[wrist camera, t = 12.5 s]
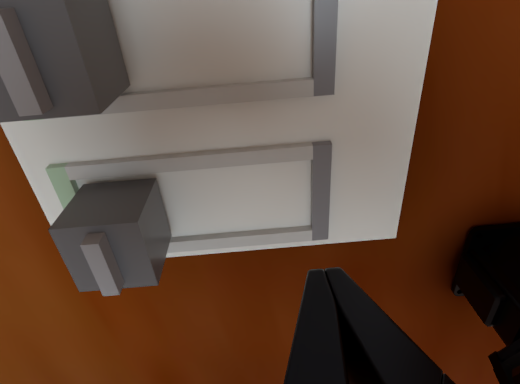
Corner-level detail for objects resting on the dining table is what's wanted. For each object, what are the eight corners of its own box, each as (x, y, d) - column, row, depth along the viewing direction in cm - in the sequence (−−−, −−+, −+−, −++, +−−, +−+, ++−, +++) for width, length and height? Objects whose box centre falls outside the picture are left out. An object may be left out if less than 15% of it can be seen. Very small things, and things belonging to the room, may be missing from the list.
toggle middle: (103, -15, 14) (47, -11, 10) (130, 85, 16) (93, 121, 12) (5, -6, 14) (-92, 0, 10) (45, 92, 16) (-22, 131, 12)
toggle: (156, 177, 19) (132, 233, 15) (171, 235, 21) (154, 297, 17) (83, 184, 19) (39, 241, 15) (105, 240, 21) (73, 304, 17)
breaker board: (502, -514, 10) (557, -617, 8) (387, 223, 23) (398, 243, 22) (-243, -450, 10) (-346, -540, 8) (79, 249, 23) (67, 271, 22)
